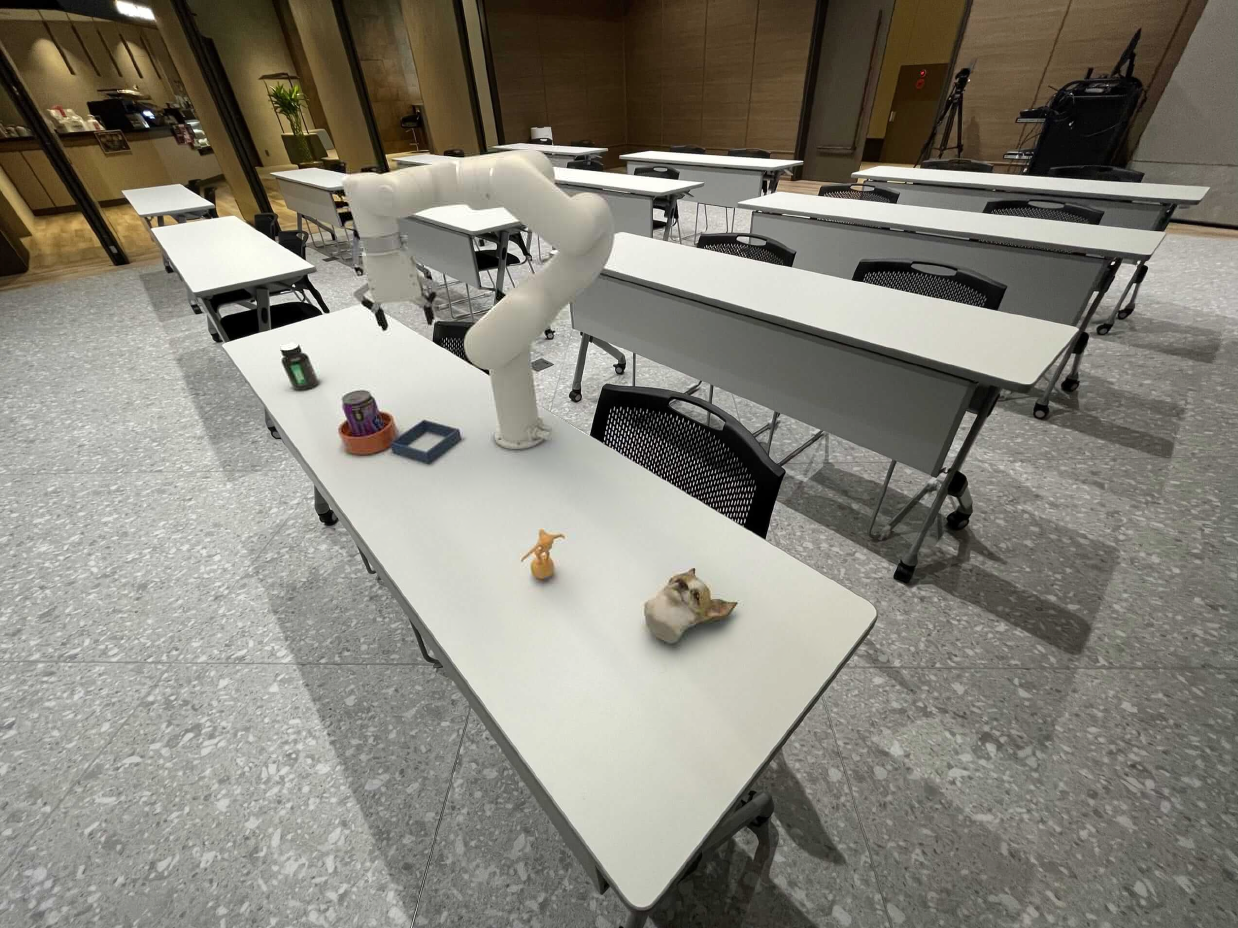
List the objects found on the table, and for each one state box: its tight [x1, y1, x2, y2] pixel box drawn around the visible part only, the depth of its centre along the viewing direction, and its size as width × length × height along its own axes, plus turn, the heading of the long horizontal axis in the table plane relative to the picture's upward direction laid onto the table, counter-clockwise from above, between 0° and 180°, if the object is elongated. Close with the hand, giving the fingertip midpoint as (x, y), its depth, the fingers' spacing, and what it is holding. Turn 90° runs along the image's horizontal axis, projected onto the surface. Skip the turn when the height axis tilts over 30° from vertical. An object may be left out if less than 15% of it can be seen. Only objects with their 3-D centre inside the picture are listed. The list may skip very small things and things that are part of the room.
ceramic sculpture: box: [643, 567, 739, 644], centre depth 77 cm, size 11×9×15 cm
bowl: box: [337, 410, 400, 456], centre depth 121 cm, size 12×12×5 cm
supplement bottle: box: [279, 343, 319, 391], centre depth 144 cm, size 7×7×12 cm
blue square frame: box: [390, 419, 462, 465], centre depth 119 cm, size 11×11×3 cm
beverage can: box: [341, 389, 385, 437], centre depth 119 cm, size 7×7×12 cm
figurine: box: [520, 528, 565, 580], centre depth 83 cm, size 8×6×12 cm
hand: (408, 325), depth 111 cm, fingers open, 9 cm apart
